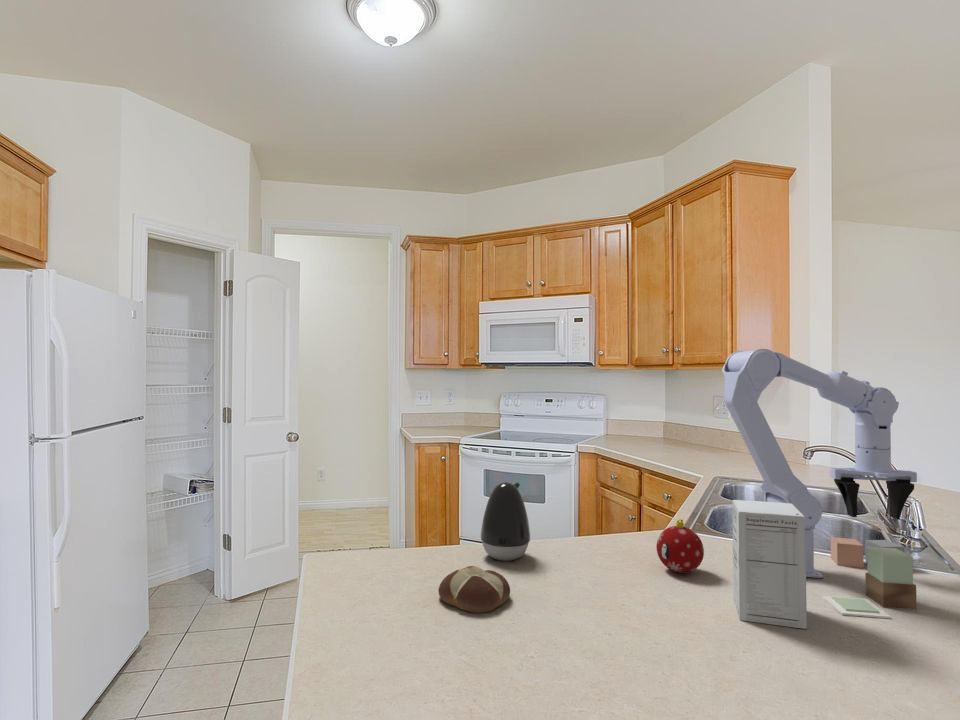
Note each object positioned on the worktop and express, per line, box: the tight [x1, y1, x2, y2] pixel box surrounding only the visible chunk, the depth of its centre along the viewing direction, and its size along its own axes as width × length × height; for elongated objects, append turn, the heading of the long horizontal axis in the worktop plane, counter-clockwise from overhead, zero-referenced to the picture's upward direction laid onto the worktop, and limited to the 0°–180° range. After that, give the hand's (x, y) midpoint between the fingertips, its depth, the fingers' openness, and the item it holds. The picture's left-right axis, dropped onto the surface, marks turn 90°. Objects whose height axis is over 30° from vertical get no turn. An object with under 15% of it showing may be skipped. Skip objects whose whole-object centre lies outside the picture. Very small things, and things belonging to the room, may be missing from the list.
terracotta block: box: [830, 536, 865, 569], centre depth 111 cm, size 4×4×4 cm
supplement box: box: [731, 499, 808, 630], centre depth 87 cm, size 10×9×17 cm
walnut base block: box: [864, 572, 918, 610], centre depth 91 cm, size 5×5×4 cm
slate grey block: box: [864, 539, 905, 563], centre depth 110 cm, size 4×4×4 cm
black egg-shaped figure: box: [480, 481, 531, 562], centre depth 112 cm, size 10×10×15 cm
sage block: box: [867, 547, 914, 585], centre depth 92 cm, size 4×4×4 cm
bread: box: [438, 565, 511, 614], centre depth 91 cm, size 11×11×5 cm
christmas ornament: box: [656, 518, 705, 574], centre depth 105 cm, size 9×9×10 cm
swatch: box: [820, 595, 892, 620], centre depth 89 cm, size 7×7×1 cm
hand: (873, 517), depth 107 cm, fingers open, 7 cm apart
